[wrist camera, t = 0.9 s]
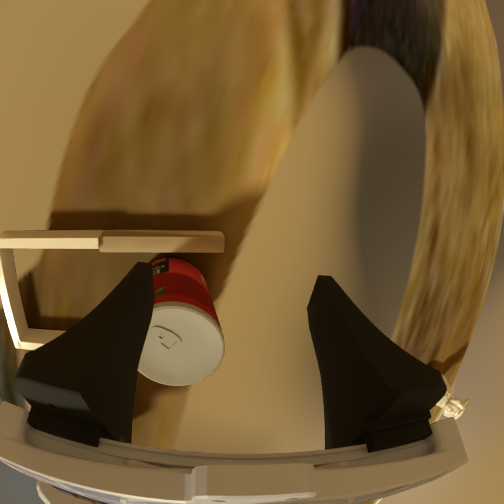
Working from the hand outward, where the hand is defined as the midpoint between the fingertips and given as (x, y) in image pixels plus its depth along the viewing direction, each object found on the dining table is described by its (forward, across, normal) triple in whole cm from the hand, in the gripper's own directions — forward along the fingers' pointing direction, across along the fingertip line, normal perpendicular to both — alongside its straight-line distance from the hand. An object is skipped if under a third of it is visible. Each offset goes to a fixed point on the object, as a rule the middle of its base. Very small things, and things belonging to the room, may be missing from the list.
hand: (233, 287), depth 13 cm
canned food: (+14, +6, +14) cm, 21 cm away
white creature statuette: (+16, -43, +39) cm, 60 cm away
